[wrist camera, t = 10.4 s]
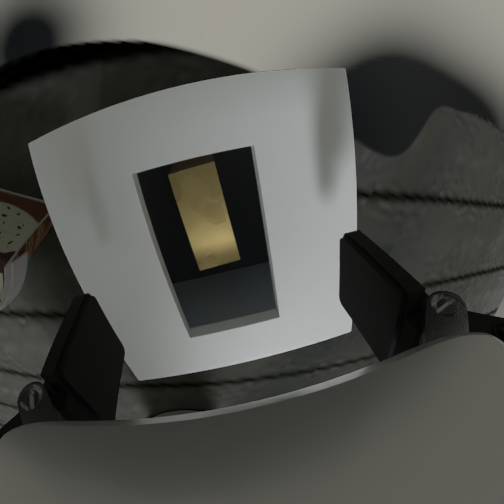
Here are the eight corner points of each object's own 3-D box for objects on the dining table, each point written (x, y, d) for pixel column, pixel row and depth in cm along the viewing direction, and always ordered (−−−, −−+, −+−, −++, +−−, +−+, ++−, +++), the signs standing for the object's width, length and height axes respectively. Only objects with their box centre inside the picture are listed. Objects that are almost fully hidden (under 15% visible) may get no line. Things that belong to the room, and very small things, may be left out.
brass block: (229, 222, 22) (240, 259, 17) (198, 231, 22) (200, 270, 17) (209, 148, 19) (214, 161, 14) (176, 158, 19) (167, 174, 14)
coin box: (301, 257, 26) (350, 331, 17) (151, 292, 24) (139, 380, 16) (280, 85, 18) (345, 68, 10) (97, 127, 17) (27, 143, 8)
